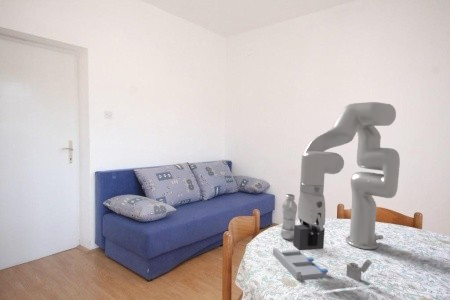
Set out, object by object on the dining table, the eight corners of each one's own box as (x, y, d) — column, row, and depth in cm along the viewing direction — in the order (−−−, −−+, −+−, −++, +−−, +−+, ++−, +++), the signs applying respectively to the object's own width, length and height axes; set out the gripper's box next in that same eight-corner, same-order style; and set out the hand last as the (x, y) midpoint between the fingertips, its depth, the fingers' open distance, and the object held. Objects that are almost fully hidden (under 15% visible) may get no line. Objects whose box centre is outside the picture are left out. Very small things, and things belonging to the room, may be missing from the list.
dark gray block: (316, 243, 93) (317, 224, 93) (323, 248, 89) (324, 228, 89) (293, 245, 91) (294, 225, 91) (299, 250, 87) (300, 229, 87)
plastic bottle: (296, 242, 115) (298, 197, 114) (280, 241, 116) (282, 196, 115) (295, 237, 121) (297, 194, 120) (280, 235, 123) (282, 193, 122)
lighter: (345, 277, 88) (347, 253, 87) (348, 275, 89) (349, 252, 88) (368, 287, 82) (370, 262, 82) (370, 285, 83) (372, 260, 83)
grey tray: (301, 253, 104) (301, 246, 104) (329, 277, 87) (330, 268, 87) (272, 256, 102) (273, 248, 101) (296, 281, 84) (296, 272, 84)
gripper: (337, 194, 82) (333, 252, 83) (308, 184, 98) (305, 233, 99) (316, 194, 80) (312, 254, 81) (289, 184, 96) (286, 234, 97)
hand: (308, 242), depth 90 cm, fingers closed on dark gray block, 4 cm apart
